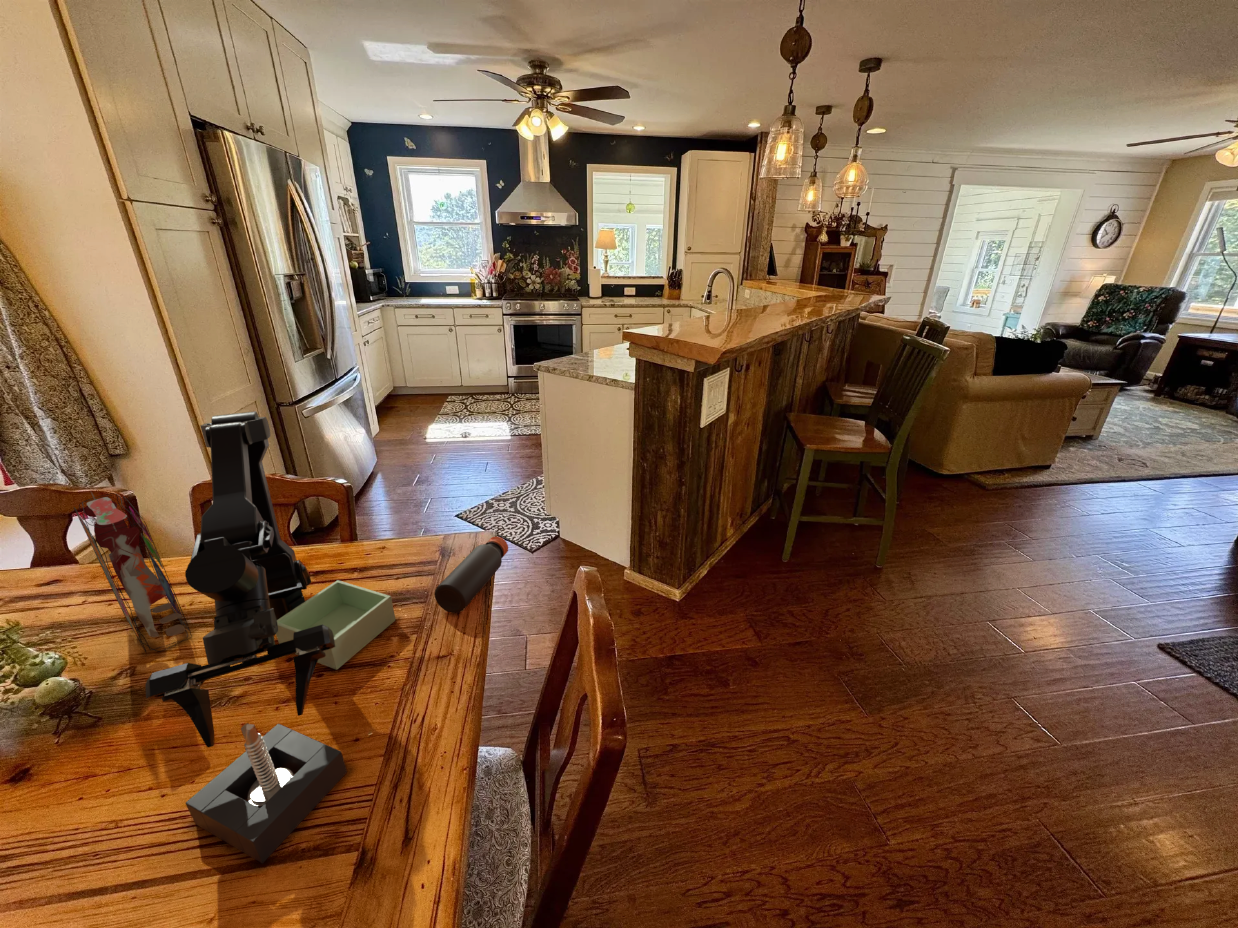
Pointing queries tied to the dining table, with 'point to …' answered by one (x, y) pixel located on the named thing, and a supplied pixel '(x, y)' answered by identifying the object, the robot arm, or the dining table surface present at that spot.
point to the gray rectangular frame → (272, 823)
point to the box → (131, 565)
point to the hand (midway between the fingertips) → (257, 730)
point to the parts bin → (341, 619)
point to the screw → (262, 768)
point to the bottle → (470, 575)
